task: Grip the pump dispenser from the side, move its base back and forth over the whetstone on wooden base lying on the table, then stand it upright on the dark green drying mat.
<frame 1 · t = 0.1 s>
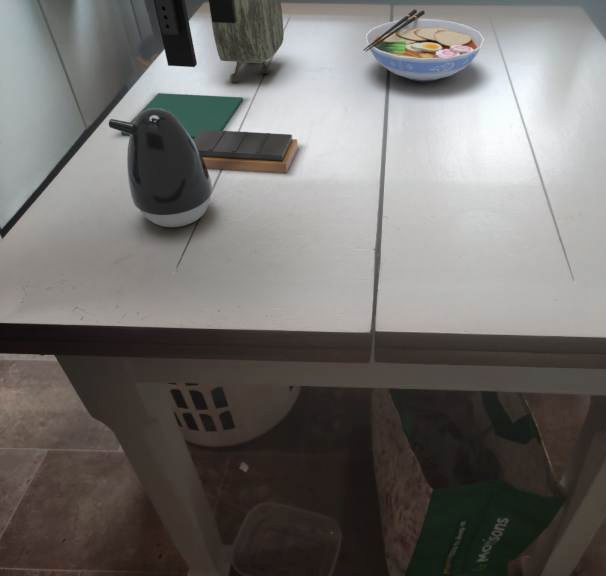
hand: (205, 42, 66), 24 cm above the table, tool pointing down, fingers open, 13 cm apart
ramen bowl: (422, 76, 121), on the table
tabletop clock: (256, 74, 122), on the table
whetstone on wooden base: (242, 157, 95), on the table
pump dispenser: (178, 217, 83), on the table
drying mat: (185, 117, 106), on the table
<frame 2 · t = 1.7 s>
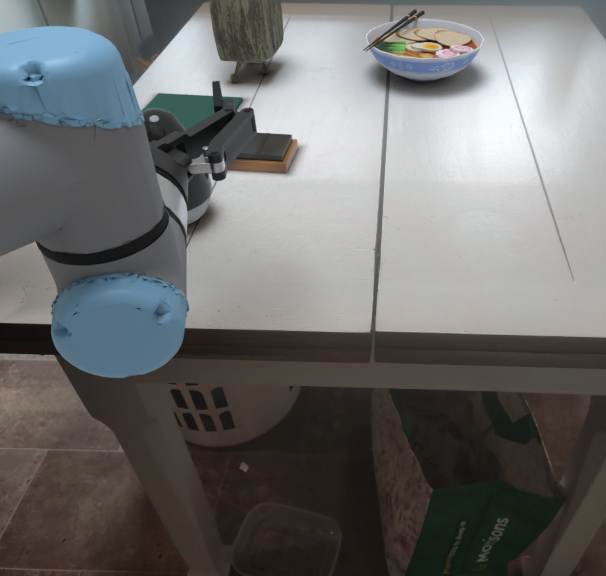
hand: (151, 100, 63), 20 cm above the table, tool horizontal, fingers open, 13 cm apart
nothing on the table moved.
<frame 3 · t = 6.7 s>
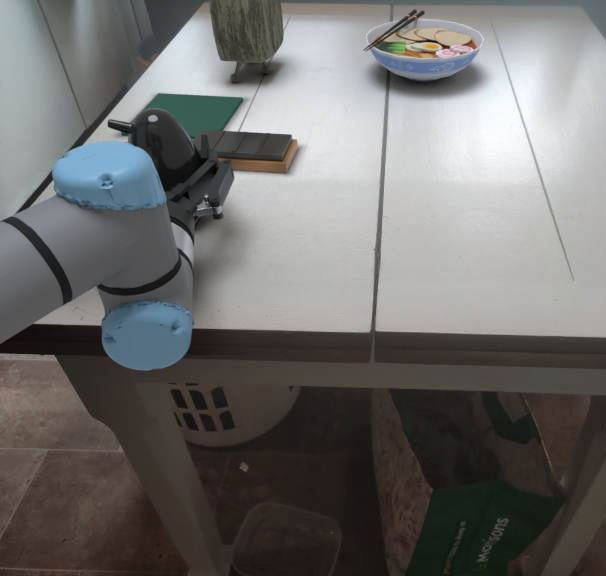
hand: (166, 147, 81), 8 cm above the table, tool horizontal, fingers closed on pump dispenser, 9 cm apart
pump dispenser: (177, 217, 83), on the table, touching gripper
everything else where it was.
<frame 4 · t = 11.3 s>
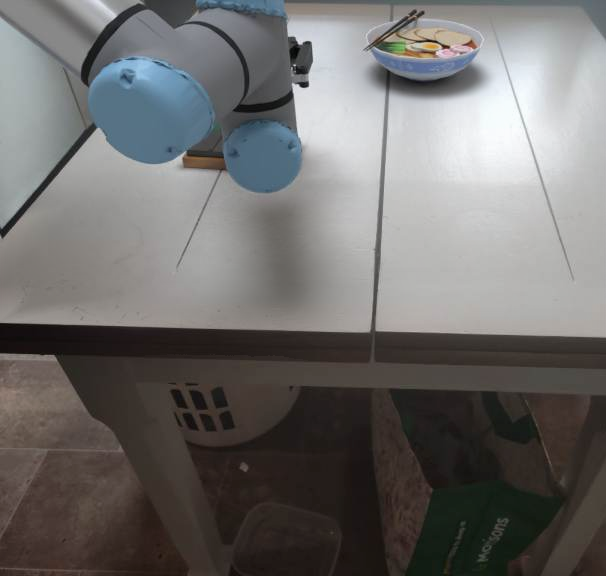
hand: (246, 37, 86), 17 cm above the table, tool horizontal, fingers closed on pump dispenser, 9 cm apart
pump dispenser: (254, 105, 88), point 9 cm above the table, touching gripper
everything else where it was.
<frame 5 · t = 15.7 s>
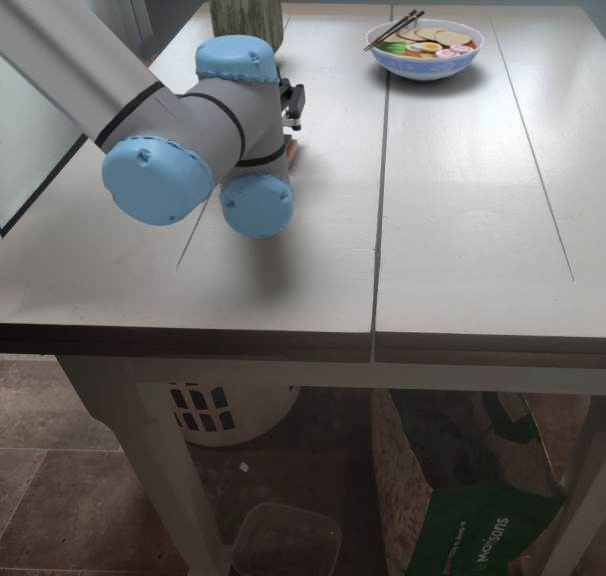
hand: (242, 77, 91), 11 cm above the table, tool horizontal, fingers closed on pump dispenser, 9 cm apart
pump dispenser: (250, 141, 93), point 3 cm above the table, touching gripper
everything else where it was.
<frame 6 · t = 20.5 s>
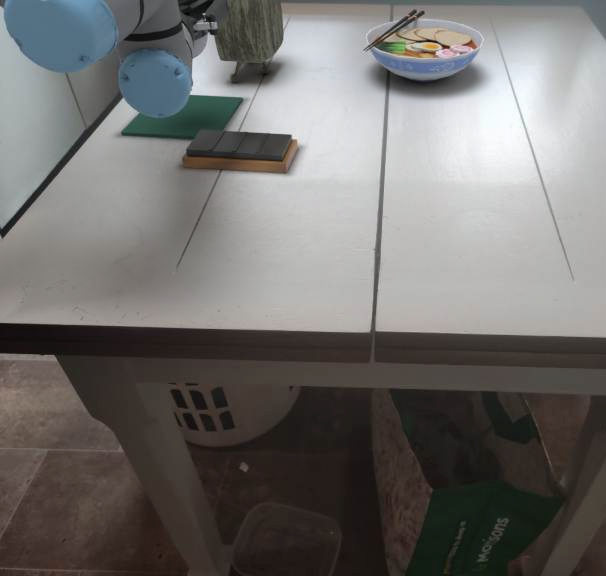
pump dispenser: (180, 57, 96), point 12 cm above the table, touching gripper
everything else where it was.
when the fingers open (8 cm above the table, at t = 24.8 s): pump dispenser stays where it is, resting on drying mat.
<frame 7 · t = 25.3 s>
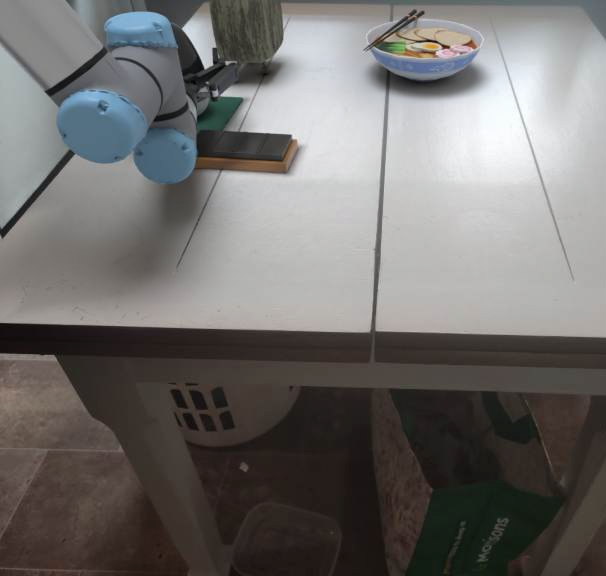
hand: (174, 58, 103), 9 cm above the table, tool horizontal, fingers open, 13 cm apart
pump dispenser: (184, 114, 106), resting on drying mat
everything else where it was.
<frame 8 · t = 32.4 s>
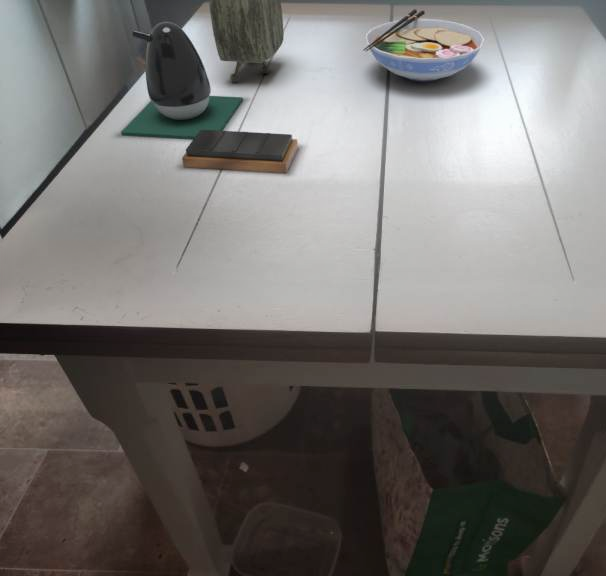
nothing on the table moved.
at the end: pump dispenser inside the target area on the drying mat (0.1 cm from its centre), point 0.4 cm above the drying mat's base; pump dispenser tilted 0°; the gripper is holding nothing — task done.
